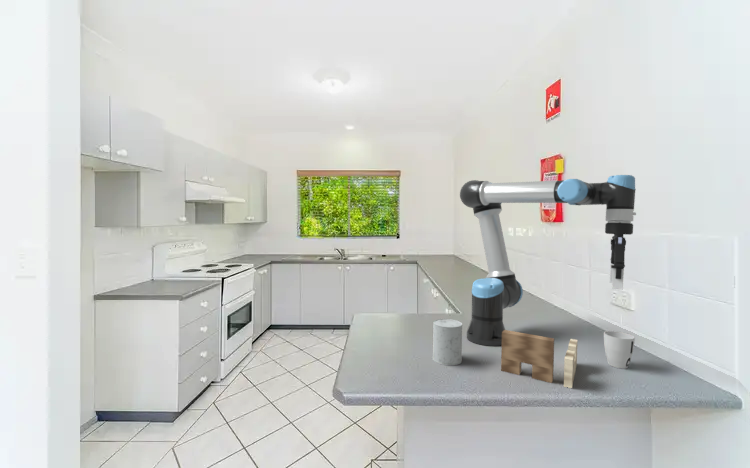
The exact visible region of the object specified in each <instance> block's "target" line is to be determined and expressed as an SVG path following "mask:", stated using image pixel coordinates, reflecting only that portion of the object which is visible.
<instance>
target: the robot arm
mask: <svg viewBox="0 0 750 468" xmlns="http://www.w3.org/2000/svg"><path fill="white" fill-rule="evenodd" d="M459 198H460V201H461V202H462V204H463V205H465V206H466V207H468V208H470V209H471V208H472V212H473V216H475V217H476V218H477V219H478V224H479V228H480V233H481V238H482V244H483V249H484V253H485V259H486V260H485V261H486V265H487V270H488V274H487V275H486V276H485V277H484V278H478V279H475V280H474V281H473V283H472V285H471V286H472V288H471V320H470V322H469V325H468V328H467V330H466V340H469V341H470V342H472V343H474V344H477V345H482V346H488V347H489V346H490V347H497V346H498V347H499V346H502V332H503V331H504V330H506V327H505V324H504V320H503V318H504V309H507V308H512V307H514V306H515V305H517V304H518V303H519V302H520V301H521V300H522V298H523V295H524V292H523V290H524V289H523V286H522V284H521V283H520V282H519V281H518V279H517V278H516V273H515V272H514V271H512V270H511V267H510V262H509V258H508V252H507V249H506V248H507V247H506V242H505V238H504V234H503V228H502V223H501V219H500V218H501V217H500V214H501V212H502V211H503V209H502V204H505V203H506V204H510V203H511V204H513V203H514V204H516V203H518V204H524V203H525V204H529V203H530V204H531V203H532V204H541V203H543V204H545V203H546V204H550V203H551V204H568V205H570V206H591V205H592V206H593V205H595V206H596V205H597V206H598V205H601V206H603V205H606V208H605V221H606V223H605V224H604V225H605V227H604V233H605V234H606V235H607V234H608V235H613V236H612V237H611V238H610V250H611V254H610V255H611V256H610V259H609V260H610V269H609V271H610V272H609V273H610V274H609V283H611V285H612V286H611V288H612V289H613V290H621V291H622V290H623V289H624V274H625V273H624V271H625V270H624V268H625V267H626V265H625V253H626V252H625V251H626V245H627V240H626V237H624V235H633V233H634V224H633V223H632V222H634V216H636V215H637V212H636V211H635V201H636V200H635V199H636V178H635V176H633V175H632V174H616V175H610V176H608V177H607V181H605V182H594V183H593V182H589V183H588V182H586V181H584V180H581V179H578V178H568V179H565V180H543V181H542V180H541V181H540V180H539V181H536V180H535V181H516V182H513V181H512V182H490V181H488V180H476V179H475V180H473V179H472V180H469V181H467V182H465V183H464V184H463V185H462V186H461V188H460V191H459Z"/></svg>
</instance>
